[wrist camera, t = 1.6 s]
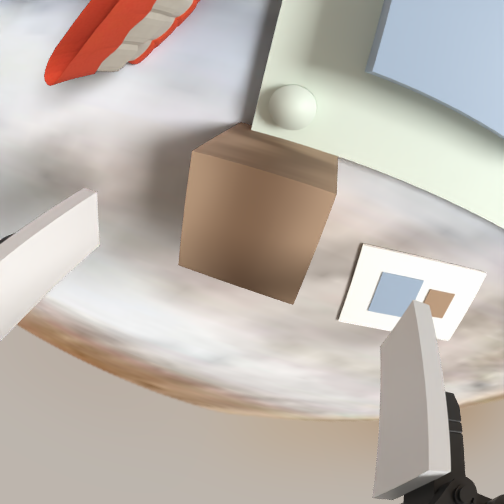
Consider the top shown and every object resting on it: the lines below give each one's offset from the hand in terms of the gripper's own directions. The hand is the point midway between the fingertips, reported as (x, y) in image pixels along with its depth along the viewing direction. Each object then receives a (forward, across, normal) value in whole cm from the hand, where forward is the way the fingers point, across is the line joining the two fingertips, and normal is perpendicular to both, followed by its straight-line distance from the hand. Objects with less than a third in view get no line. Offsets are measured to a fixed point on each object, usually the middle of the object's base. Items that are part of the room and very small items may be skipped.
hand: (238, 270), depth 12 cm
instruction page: (+10, +12, -5) cm, 16 cm away
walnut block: (+9, 0, 0) cm, 9 cm away
